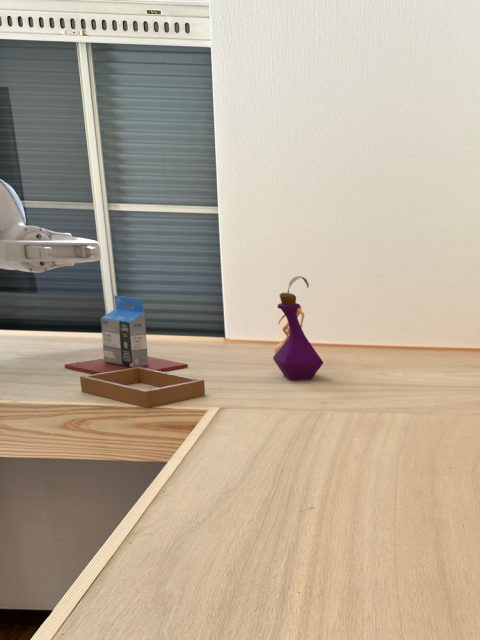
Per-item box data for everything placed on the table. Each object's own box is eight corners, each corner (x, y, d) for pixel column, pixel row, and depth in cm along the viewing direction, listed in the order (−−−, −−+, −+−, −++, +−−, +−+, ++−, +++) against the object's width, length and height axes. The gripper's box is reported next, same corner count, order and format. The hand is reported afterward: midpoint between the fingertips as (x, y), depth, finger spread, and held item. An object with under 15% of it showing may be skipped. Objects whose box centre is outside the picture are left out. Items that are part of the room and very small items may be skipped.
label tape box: (103, 362, 140) (95, 296, 135) (121, 359, 143) (114, 294, 138) (132, 368, 135) (125, 300, 130) (150, 365, 138) (144, 298, 134)
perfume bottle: (284, 382, 130) (281, 277, 124) (273, 374, 137) (270, 274, 130) (323, 380, 133) (323, 277, 127) (310, 372, 140) (310, 274, 133)
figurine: (265, 359, 151) (264, 299, 146) (290, 357, 154) (289, 298, 150) (287, 366, 145) (286, 304, 141) (312, 363, 149) (312, 302, 144)
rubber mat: (118, 379, 129) (117, 376, 129) (64, 367, 137) (64, 364, 137) (188, 367, 141) (187, 364, 141) (135, 356, 149) (134, 354, 149)
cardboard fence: (147, 407, 111) (146, 391, 110) (81, 391, 119) (79, 376, 118) (205, 395, 120) (204, 380, 119) (140, 380, 128) (138, 366, 127)
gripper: (-24, 231, 136) (17, 233, 129) (74, 233, 152) (115, 235, 145) (-19, 266, 139) (22, 271, 131) (77, 265, 154) (118, 269, 147)
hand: (72, 252), depth 138 cm, fingers open, 8 cm apart
